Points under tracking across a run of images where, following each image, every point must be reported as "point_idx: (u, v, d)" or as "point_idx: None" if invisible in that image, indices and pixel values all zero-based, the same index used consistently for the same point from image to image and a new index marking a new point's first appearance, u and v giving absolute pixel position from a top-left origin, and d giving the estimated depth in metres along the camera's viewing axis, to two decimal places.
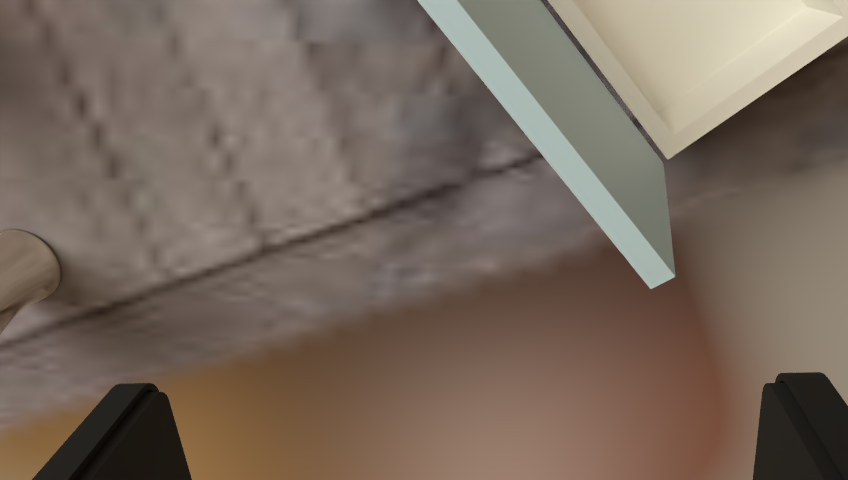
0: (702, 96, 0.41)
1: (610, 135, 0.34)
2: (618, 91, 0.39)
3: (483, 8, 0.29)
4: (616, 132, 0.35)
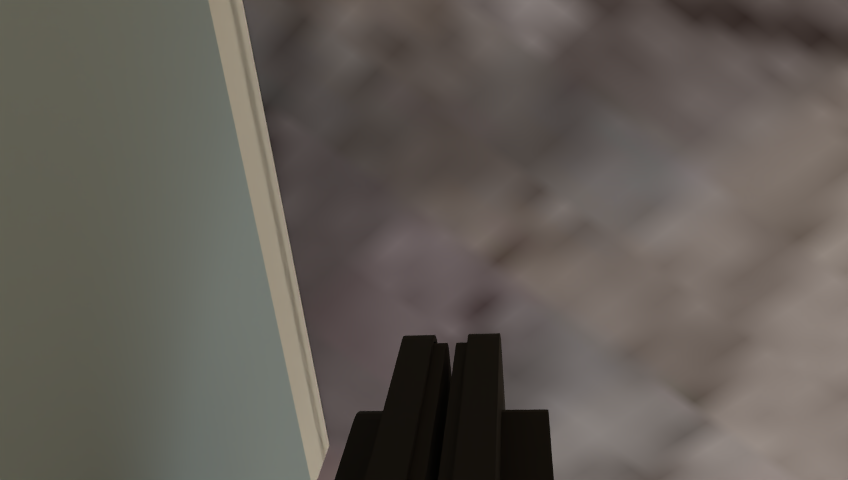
0: None
1: None
2: None
3: None
4: None
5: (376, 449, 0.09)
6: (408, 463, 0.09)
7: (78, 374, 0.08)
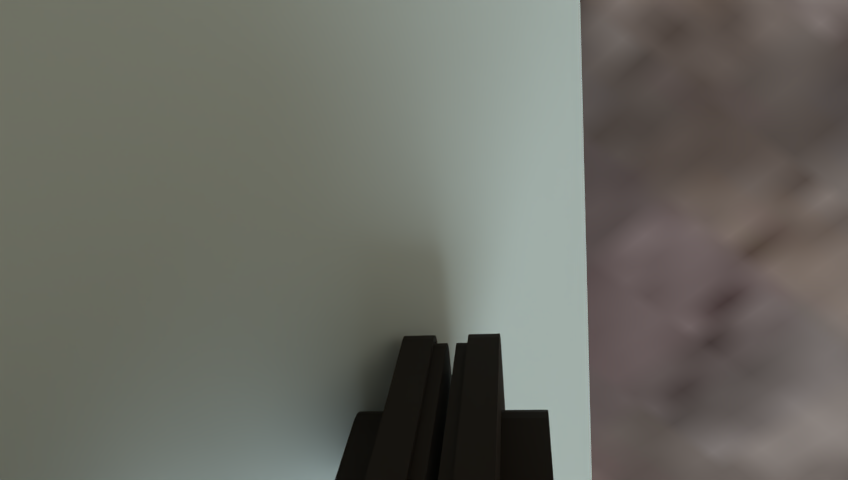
0: None
1: None
2: None
3: None
4: None
5: (376, 449, 0.09)
6: (408, 463, 0.09)
7: (166, 334, 0.09)
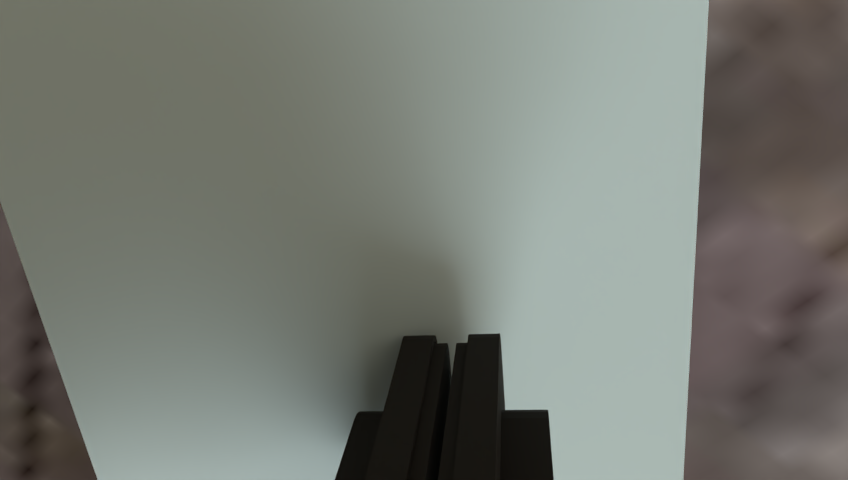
0: None
1: None
2: None
3: None
4: None
5: (376, 449, 0.09)
6: (408, 463, 0.09)
7: (255, 279, 0.10)
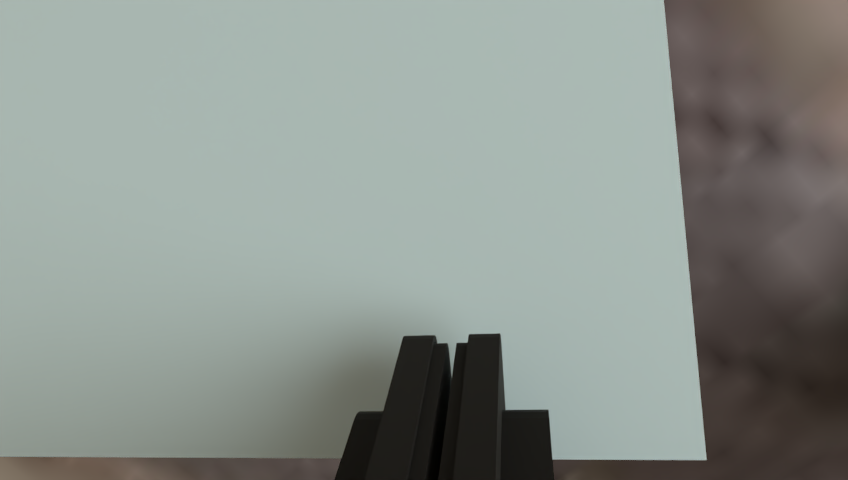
0: None
1: None
2: None
3: None
4: None
5: (376, 449, 0.09)
6: (408, 463, 0.09)
7: (15, 320, 0.15)
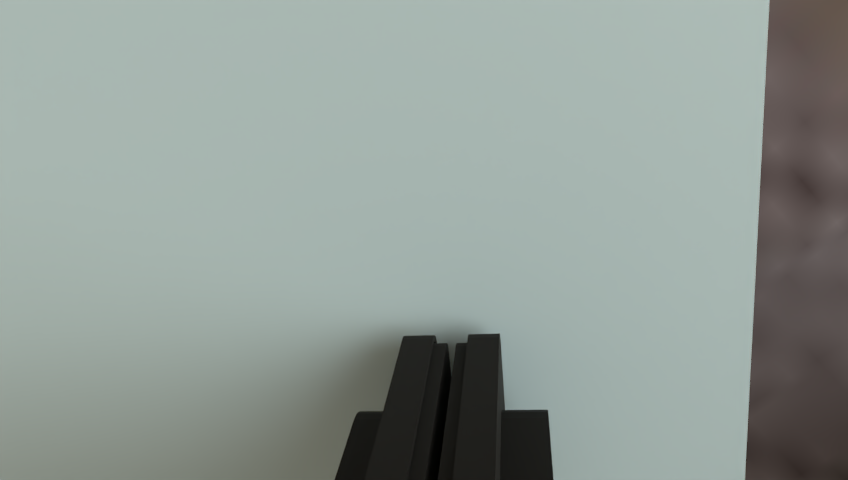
0: None
1: None
2: None
3: None
4: None
5: (376, 449, 0.09)
6: (408, 463, 0.09)
7: (35, 461, 0.14)
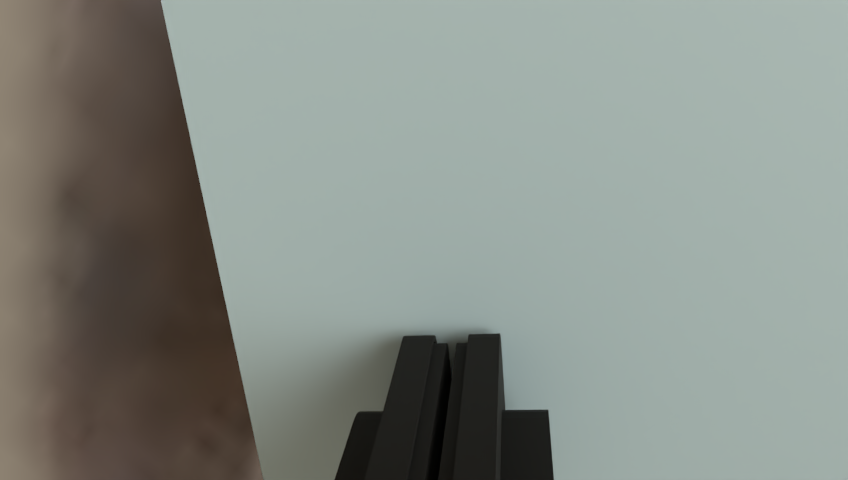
0: None
1: None
2: None
3: None
4: None
5: (376, 449, 0.09)
6: (408, 463, 0.09)
7: (617, 473, 0.12)
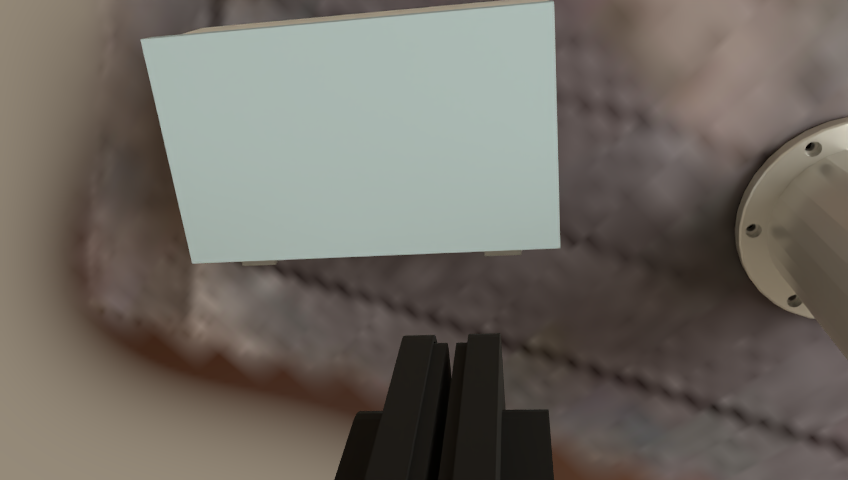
0: None
1: None
2: None
3: None
4: None
5: (376, 449, 0.09)
6: (408, 463, 0.09)
7: (298, 211, 0.37)
